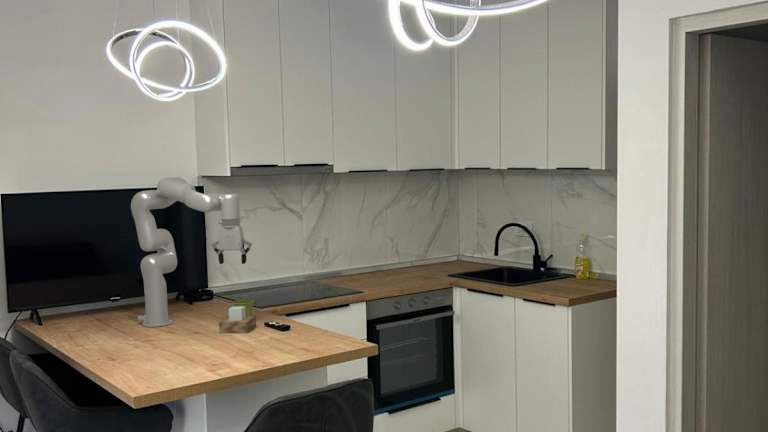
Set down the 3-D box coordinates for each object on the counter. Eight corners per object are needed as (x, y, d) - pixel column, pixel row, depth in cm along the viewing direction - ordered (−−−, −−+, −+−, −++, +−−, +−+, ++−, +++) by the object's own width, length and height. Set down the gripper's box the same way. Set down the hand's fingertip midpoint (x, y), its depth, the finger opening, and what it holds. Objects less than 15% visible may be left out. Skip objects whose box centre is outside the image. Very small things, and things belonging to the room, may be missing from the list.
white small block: (229, 320, 307) (228, 309, 306) (233, 318, 312) (232, 306, 312) (241, 320, 306) (241, 308, 306) (245, 318, 312) (245, 306, 311)
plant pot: (243, 323, 323) (242, 304, 323) (229, 321, 329) (228, 302, 328) (259, 319, 331) (258, 300, 330) (245, 317, 336) (244, 299, 336)
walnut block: (219, 334, 304) (219, 322, 304) (229, 328, 316) (228, 316, 316) (247, 334, 303) (247, 322, 302) (256, 327, 315) (255, 316, 314)
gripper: (207, 224, 306) (209, 265, 307) (247, 223, 303) (249, 264, 304) (214, 222, 313) (216, 262, 314) (253, 222, 311) (255, 262, 312)
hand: (232, 263), depth 309 cm, fingers open, 9 cm apart
